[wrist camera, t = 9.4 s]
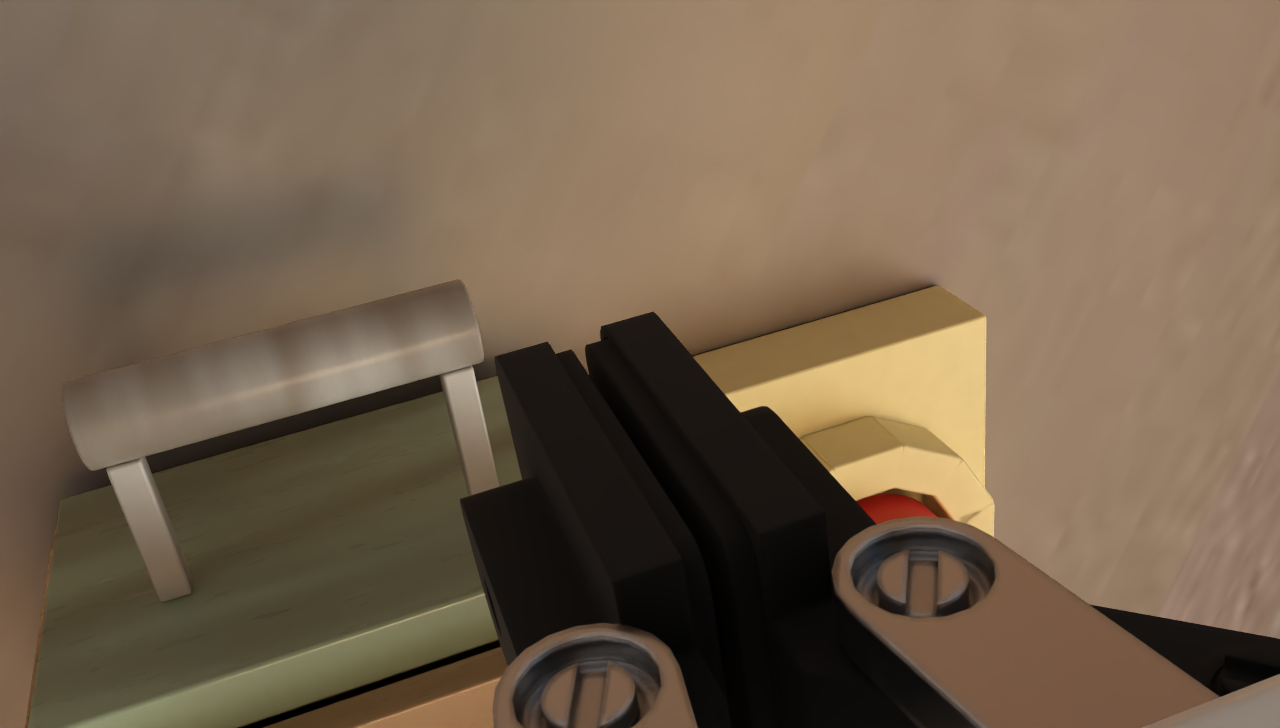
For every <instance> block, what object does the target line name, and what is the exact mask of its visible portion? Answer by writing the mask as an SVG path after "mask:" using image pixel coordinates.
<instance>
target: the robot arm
mask: <svg viewBox="0 0 1280 728" xmlns="http://www.w3.org/2000/svg"><path fill="white" fill-rule="evenodd" d="M600 336H601V341H599V342H595V343H592V344H588V345H586V347H585V353H586V360H587V366H588V371H589V375H588V374H587V372H586V370H585V369H584V367H583V366H582V364H581V363H580V361H579V360H578V358H577V357H576V355H575V354H574V352H573V351H572V350H568V351H564V352H561V353H557V354H555V352H554V351H553V349H552V347H551V346H550V344H549V343H548V342H545V343H541V344H538V345H534V346H531V347H527V348H524V349H520V350H516V351H513V352H509V353H506V354H502V355H499V356H495V365H496V371H497V376H498V380H499V384H500V389H501V393H502V397H503V401H504V405H505V410H506V414H507V418H508V422H509V426H510V431H511V435H512V439H513V443H514V448H515V452H516V456H517V460H518V464H519V469H520V473H521V477H522V480H520V481H516V482H513V483H510V484H507V485H503V486H500V487H497V488H494V489H490V490H487V491H484V492H481V493H477V494H474V495H471V496H468V497H464V498H461V499H460V505H461V509H462V514H463V518H464V521H465V525H466V529H467V533H468V536H469V540H470V544H471V547H472V551H473V555H474V559H475V562H476V566H477V569H478V573H479V577H480V580H481V584H482V587H483V590H484V594H485V597H486V601H487V604H488V607H489V610H490V614H491V617H492V620H493V623H494V626H495V630H496V633H497V636H498V639H499V642H500V645H501V648H502V651H503V654H504V656H505V659H506V662H507V665H508V667H507V668H506V669H505V671H504V673H503V675H502V677H501V679H500V680H499V682H498V684H497V686H496V688H495V693H494V701H493V708H492V713H493V724H494V728H1280V639H1277V638H1272V637H1266V636H1261V635H1255V634H1250V633H1244V632H1239V631H1233V630H1227V629H1222V628H1216V627H1211V626H1205V625H1200V624H1194V623H1189V622H1183V621H1178V620H1172V619H1166V618H1161V617H1155V616H1150V615H1144V614H1139V613H1133V612H1128V611H1122V610H1116V609H1111V608H1105V607H1100V606H1094V605H1089V604H1088V603H1086V602H1085V601H1084V600H1082V599H1081V598H1079V597H1078V596H1077V595H1075V594H1074V593H1072V592H1071V591H1069V590H1068V589H1067V588H1065V587H1064V586H1062V585H1061V584H1060V583H1058V582H1057V581H1055V580H1054V579H1052V578H1051V577H1050V576H1048V575H1047V574H1045V573H1044V572H1043V571H1041V570H1040V569H1038V568H1037V567H1035V566H1034V565H1033V564H1031V563H1030V562H1028V561H1027V560H1026V559H1024V558H1023V557H1021V556H1020V555H1018V554H1017V553H1016V552H1014V551H1013V550H1011V549H1010V548H1009V547H1007V546H1006V545H1004V544H1003V543H1001V542H1000V541H999V540H997V539H996V538H994V537H993V536H991V535H989V534H987V533H986V532H984V531H982V530H980V529H978V528H976V527H974V526H972V525H970V524H966V523H962V522H958V521H955V520H951V519H947V518H937V517H922V516H916V517H908V518H899V519H891V520H888V521H885V522H882V523H879V524H876V523H875V522H874V521H873V519H872V518H871V517H870V516H869V515H868V514H867V513H866V512H865V511H864V510H863V508H862V507H861V506H860V505H859V504H858V503H857V502H856V501H855V500H854V499H853V497H852V496H851V495H850V494H849V493H848V492H847V491H846V490H845V489H844V488H843V486H842V485H841V484H840V483H839V482H838V481H837V480H836V479H835V478H834V477H833V475H832V474H831V473H830V472H829V471H828V470H827V469H826V468H825V467H824V466H823V465H822V463H821V462H820V461H819V460H818V459H817V458H816V457H815V456H814V455H813V454H812V452H811V451H810V450H809V449H808V448H807V447H806V446H805V445H804V444H803V443H802V441H801V440H800V439H799V438H798V437H797V436H796V435H795V434H794V433H793V432H792V430H791V429H790V428H789V427H788V426H787V425H786V424H785V423H784V422H783V421H782V419H781V418H780V417H779V416H778V415H777V414H776V413H775V412H774V411H773V410H771V409H770V408H769V407H768V406H760V407H757V408H753V409H750V410H747V411H744V412H740V411H739V410H738V409H737V408H736V407H735V406H734V404H733V403H732V402H731V401H730V400H729V399H728V397H727V396H726V395H725V394H724V393H723V392H722V390H721V389H720V388H719V387H718V386H717V385H716V383H715V382H714V381H713V380H712V379H711V378H710V376H709V375H708V374H707V373H706V372H705V370H704V369H703V368H702V367H701V366H700V365H699V363H698V362H697V361H696V360H695V359H694V358H693V356H692V355H691V354H690V353H689V352H688V351H687V349H686V348H685V347H684V346H683V345H682V344H681V342H680V341H679V340H678V339H677V338H676V337H675V335H674V334H673V333H672V332H671V331H670V330H669V328H668V327H667V326H666V325H665V324H664V323H663V321H662V320H661V319H660V318H659V317H658V316H657V315H656V314H655V313H654V312H650V313H647V314H643V315H640V316H636V317H633V318H629V319H626V320H622V321H619V322H615V323H612V324H608V325H604V326H601V330H600ZM589 376H590V377H589Z"/></svg>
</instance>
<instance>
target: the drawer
mask: <svg viewBox="0 0 1280 728" xmlns="http://www.w3.org/2000/svg"><path fill="white" fill-rule="evenodd" d="M483 360H484V349H483V343H482V338H481V333H480V329H479V325H478V321H477V318H476V314H475V311H474V308H473V305H472V302H471V299H470V296H469V294H468V291H467V289H466V287H465V285H464V283H463V282H462V281H461V280H458V279H457V280H454V281H450V282H446V283H442V284H438V285H434V286H431V287H427V288H423V289H419V290H415V291H411V292H408V293H404V294H400V295H396V296H392V297H388V298H384V299H381V300H377V301H373V302H369V303H365V304H361V305H358V306H354V307H350V308H346V309H342V310H338V311H335V312H331V313H327V314H323V315H319V316H315V317H311V318H308V319H304V320H300V321H296V322H292V323H288V324H285V325H281V326H277V327H273V328H269V329H265V330H262V331H258V332H254V333H250V334H246V335H242V336H239V337H235V338H231V339H227V340H223V341H219V342H215V343H212V344H208V345H204V346H200V347H196V348H192V349H189V350H185V351H181V352H177V353H173V354H169V355H166V356H162V357H158V358H154V359H150V360H146V361H142V362H139V363H135V364H131V365H127V366H123V367H119V368H116V369H112V370H108V371H104V372H100V373H96V374H93V375H89V376H85V377H81V378H77V379H73V380H70V381H67V382H65V383H64V384H63V387H62V402H63V408H64V413H65V418H66V422H67V425H68V429H69V432H70V435H71V438H72V441H73V443H74V446H75V448H76V450H77V453H78V455H79V457H80V458H81V460H82V462H83V463H84V465H85V466H86V467H87V468H88V469H89V470H93V471H95V470H98V469H102V468H106V467H107V474H108V477H109V479H110V482H111V484H112V485H110V486H106V487H103V488H99V489H96V490H92V491H89V492H85V493H81V494H78V495H74V496H71V497H67V498H64V499H62V500H61V501H60V504H59V511H58V518H57V526H56V533H55V540H54V547H53V554H52V561H51V568H50V575H49V582H48V590H47V597H46V604H45V611H44V618H43V625H42V632H41V639H40V646H39V654H38V661H37V668H36V675H35V682H34V689H33V696H32V703H31V710H30V718H29V725H28V728H263V727H266V726H269V725H272V724H275V723H278V722H281V721H284V720H286V719H289V718H292V717H295V716H298V715H301V714H304V713H307V712H310V711H313V710H316V709H319V708H322V707H325V706H328V705H331V704H334V703H336V702H339V701H342V700H345V699H348V698H351V697H354V696H357V695H360V694H363V693H366V692H369V691H372V690H375V689H378V688H381V687H384V686H387V685H389V684H392V683H395V682H398V681H401V680H404V679H407V678H410V677H413V676H416V675H419V674H422V673H425V672H428V671H431V670H434V669H437V668H439V667H442V666H445V665H448V664H451V663H454V662H457V661H460V660H463V659H466V658H469V657H472V656H475V655H478V654H481V653H484V652H487V651H489V650H492V649H495V648H498V647H501V645H500V642H499V639H498V636H497V633H496V630H495V626H494V623H493V620H492V617H491V614H490V610H489V607H488V604H487V601H486V597H485V594H484V590H483V587H482V584H481V580H480V577H479V573H478V569H477V566H476V562H475V559H474V555H473V551H472V547H471V544H470V540H469V536H468V533H467V529H466V525H465V521H464V518H463V514H462V509H461V505H460V499H461V498H464V497H468V496H471V495H474V494H477V493H481V492H484V491H487V490H490V489H494V488H497V487H500V486H503V485H507V484H510V483H513V482H516V481H520V480H522V477H521V473H520V469H519V464H518V460H517V456H516V452H515V448H514V443H513V439H512V435H511V431H510V426H509V422H508V418H507V414H506V410H505V405H504V401H503V397H502V393H501V389H500V384H499V380H498V376H495V377H492V378H488V379H485V380H481V381H478V382H476V378H475V373H474V369H473V367H472V365H475V364H478V363H481V362H483ZM435 375H439V376H440V380H441V384H442V388H443V391H442V392H439V393H435V394H432V395H428V396H424V397H421V398H417V399H414V400H410V401H407V402H403V403H400V404H396V405H393V406H389V407H386V408H382V409H379V410H375V411H371V412H368V413H364V414H361V415H357V416H354V417H350V418H347V419H343V420H340V421H336V422H333V423H329V424H325V425H322V426H318V427H315V428H311V429H308V430H304V431H301V432H297V433H294V434H290V435H287V436H283V437H280V438H276V439H272V440H269V441H265V442H262V443H258V444H255V445H251V446H248V447H244V448H241V449H237V450H234V451H230V452H226V453H223V454H219V455H216V456H212V457H209V458H205V459H202V460H198V461H195V462H191V463H188V464H184V465H180V466H177V467H173V468H170V469H166V470H163V471H159V472H156V473H151V470H150V467H149V465H148V462H147V460H146V457H145V456H149V455H152V454H156V453H159V452H163V451H166V450H170V449H174V448H177V447H181V446H184V445H188V444H192V443H195V442H199V441H202V440H206V439H209V438H213V437H217V436H220V435H224V434H227V433H231V432H235V431H238V430H242V429H245V428H249V427H252V426H256V425H260V424H263V423H267V422H270V421H274V420H278V419H281V418H285V417H288V416H292V415H295V414H299V413H303V412H306V411H310V410H313V409H317V408H321V407H324V406H328V405H331V404H335V403H338V402H342V401H346V400H349V399H353V398H356V397H360V396H364V395H367V394H371V393H374V392H378V391H381V390H385V389H389V388H392V387H396V386H399V385H403V384H407V383H410V382H414V381H417V380H421V379H424V378H428V377H432V376H435Z"/></svg>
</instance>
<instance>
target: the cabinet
mask: <svg viewBox="0 0 1280 728" xmlns="http://www.w3.org/2000/svg"><path fill="white" fill-rule="evenodd" d="M55 533H56V530H55V531H54V533H53V540H52V547H51V552H50V559H49V566H48V573H47V580H46V586H45V593H44V600H43V607H42V614H41V621H40V628H39V635H38V642H37V649H36V656H35V663H34V670H33V677H32V684H31V691H30V698H29V705H28V712H27V719H26V726H25V728H28V725H29V718H30V710H31V703H32V696H33V689H34V682H35V675H36V668H37V661H38V654H39V646H40V639H41V632H42V625H43V618H44V611H45V604H46V597H47V590H48V582H49V575H50V568H51V561H52V554H53V547H54V540H55ZM507 667H508V665H507V662H506V659H505V656H504V654H503V651H502V648H501V647H498V648H495V649H492V650H489V651H487V652H484V653H481V654H478V655H475V656H472V657H469V658H466V659H463V660H460V661H457V662H454V663H451V664H448V665H445V666H442V667H439V668H437V669H434V670H431V671H428V672H425V673H422V674H419V675H416V676H413V677H410V678H407V679H404V680H401V681H398V682H395V683H392V684H389V685H387V686H384V687H381V688H378V689H375V690H372V691H369V692H366V693H363V694H360V695H357V696H354V697H351V698H348V699H345V700H342V701H339V702H336V703H334V704H331V705H328V706H325V707H322V708H319V709H316V710H313V711H310V712H307V713H304V714H301V715H298V716H295V717H292V718H289V719H286V720H284V721H281V722H278V723H275V724H272V725H269V726H266V727H263V728H494V724H493V713H492V708H493V701H494V693H495V688H496V686H497V684H498V682H499V680H500V679H501V677H502V675H503V673H504V671H505V669H506V668H507Z"/></svg>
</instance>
